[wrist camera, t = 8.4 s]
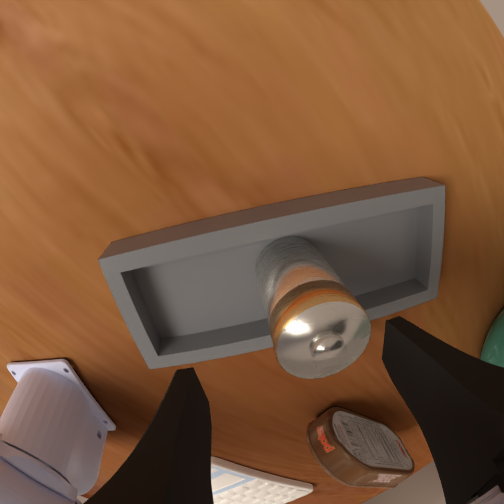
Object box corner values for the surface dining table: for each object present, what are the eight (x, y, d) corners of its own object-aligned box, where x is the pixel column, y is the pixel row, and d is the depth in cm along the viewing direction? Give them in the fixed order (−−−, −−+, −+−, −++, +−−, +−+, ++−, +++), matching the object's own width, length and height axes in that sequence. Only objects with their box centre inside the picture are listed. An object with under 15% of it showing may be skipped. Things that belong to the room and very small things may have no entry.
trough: (419, 281, 21) (437, 297, 19) (154, 344, 20) (149, 369, 18) (422, 176, 18) (445, 185, 15) (111, 242, 17) (97, 259, 15)
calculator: (250, 507, 37) (251, 517, 36) (143, 478, 30) (142, 490, 29) (314, 481, 35) (317, 491, 33) (205, 449, 27) (205, 463, 26)
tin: (295, 411, 25) (317, 489, 18) (320, 392, 25) (349, 471, 17) (378, 438, 30) (402, 490, 23) (398, 423, 30) (425, 475, 22)
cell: (326, 286, 19) (377, 369, 12) (263, 304, 19) (288, 399, 12) (316, 226, 17) (377, 296, 10) (246, 246, 17) (268, 330, 10)
